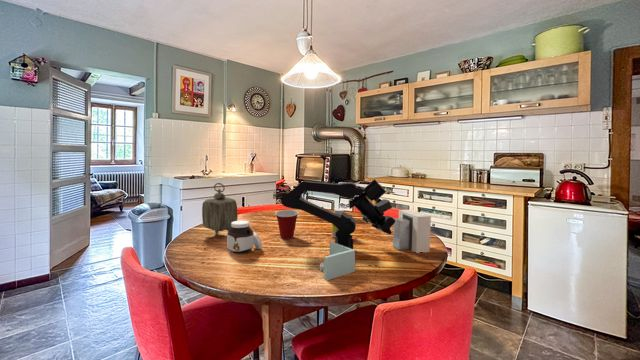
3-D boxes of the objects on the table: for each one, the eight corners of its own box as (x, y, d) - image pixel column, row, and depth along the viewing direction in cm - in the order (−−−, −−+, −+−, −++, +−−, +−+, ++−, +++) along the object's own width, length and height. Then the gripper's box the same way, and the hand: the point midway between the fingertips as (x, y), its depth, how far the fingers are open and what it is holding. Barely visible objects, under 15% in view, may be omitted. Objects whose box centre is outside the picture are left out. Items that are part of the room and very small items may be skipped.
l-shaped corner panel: (331, 261, 108) (331, 241, 108) (354, 272, 99) (354, 250, 98) (304, 269, 101) (304, 247, 100) (326, 281, 92) (326, 257, 91)
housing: (416, 253, 118) (417, 216, 117) (397, 242, 131) (398, 210, 130) (429, 251, 119) (430, 216, 118) (409, 241, 133) (410, 209, 132)
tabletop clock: (237, 236, 138) (237, 183, 136) (222, 241, 131) (221, 185, 128) (217, 232, 146) (216, 181, 144) (201, 236, 138) (199, 182, 136)
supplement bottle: (340, 239, 136) (341, 211, 135) (328, 236, 140) (329, 209, 139) (348, 236, 141) (348, 209, 140) (336, 233, 145) (337, 207, 144)
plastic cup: (270, 239, 134) (270, 213, 133) (280, 233, 145) (280, 209, 143) (293, 241, 131) (293, 215, 130) (301, 235, 141) (302, 210, 140)
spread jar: (224, 251, 117) (223, 222, 116) (244, 244, 127) (243, 217, 126) (247, 257, 111) (247, 226, 110) (266, 248, 121) (266, 220, 120)
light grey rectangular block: (399, 250, 121) (400, 220, 120) (392, 246, 126) (393, 218, 124) (420, 248, 123) (421, 219, 122) (413, 244, 128) (414, 217, 127)
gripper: (391, 196, 110) (416, 224, 114) (369, 190, 128) (392, 214, 132) (371, 218, 108) (397, 245, 112) (352, 209, 126) (375, 233, 130)
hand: (390, 233), depth 122 cm, fingers closed
